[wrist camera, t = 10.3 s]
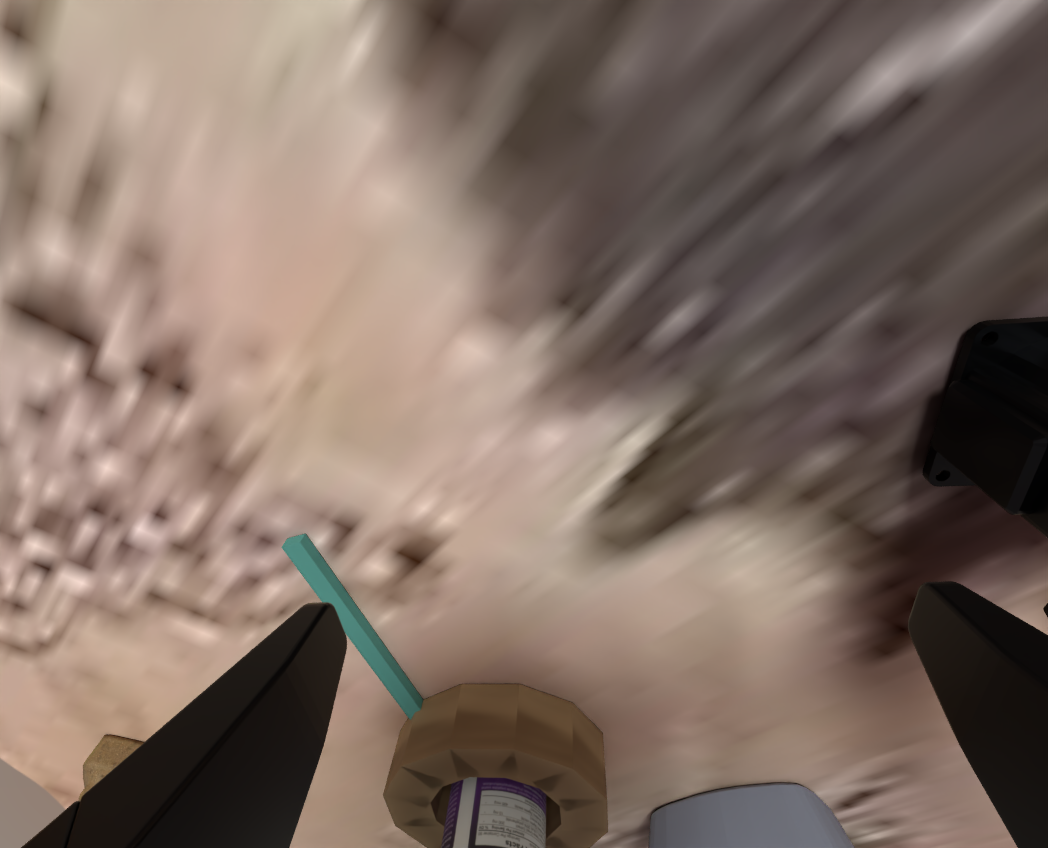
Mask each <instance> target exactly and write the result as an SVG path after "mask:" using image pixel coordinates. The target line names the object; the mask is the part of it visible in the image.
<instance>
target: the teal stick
mask: <svg viewBox="0 0 1048 848" xmlns="http://www.w3.org/2000/svg"><path fill="white" fill-rule="evenodd" d="M282 549H283V550H284V551H285V553H286V554H287V555H288V557H289V558H290V559H291V561H292V562H293V563H294V565H295V566H296V567H297V569H298V570H299V571H300V573H301V574H302V575H303V577H304V578H305V579H306V581H307V582H308V583H309V585H310V586H311V588H312V589H313V590H314V592H315V593H316V594H317V596H318V597H319V598H320V600H321V601H322V602H328V603H331V604H332V605H334V607H335V609H336V611H337V614H338V616H339V619H340V621H341V624H342V626H343V629H344V631H345V633H346V634H347V636H348V637H349V639H350V640H351V641H352V643H353V644H354V645H355V647H356V648H357V649H358V651H359V652H360V653H361V655H362V656H363V657H364V659H365V660H366V661H367V663H368V664H369V665H370V667H371V668H372V669H373V671H374V672H375V673H376V675H377V676H378V677H379V679H380V680H381V681H382V683H383V684H384V686H385V687H386V688H387V690H388V691H389V692H390V694H391V695H392V696H393V698H394V699H395V700H396V702H397V703H398V704H399V706H400V707H401V708H402V710H403V711H404V712H405V714H406V715H407V716H408V718H409V719H410V720H411V718H412V717H413V715H414V713H415V712H417V711H420V710H421V707H422V703H423V699H422V698H421V696H420V695H419V693H418V692H417V691H416V689H415V688H414V686H413V685H412V683H411V682H410V681H409V679H408V678H407V676H406V675H405V674H404V672H403V671H402V669H401V668H400V666H399V665H398V664H397V662H396V661H395V659H394V658H393V657H392V655H391V654H390V652H389V651H388V650H387V648H386V647H385V645H384V644H383V642H382V641H381V640H380V638H379V637H378V635H377V634H376V633H375V631H374V630H373V628H372V627H371V625H370V624H369V623H368V621H367V620H366V618H365V617H364V616H363V614H362V613H361V611H360V610H359V609H358V607H357V606H356V604H355V603H354V601H353V600H352V599H351V597H350V596H349V594H348V593H347V592H346V590H345V589H344V587H343V586H342V584H341V583H340V582H339V580H338V579H337V577H336V576H335V575H334V573H333V572H332V570H331V569H330V567H329V566H328V565H327V563H326V562H325V560H324V559H323V558H322V556H321V555H320V553H319V552H318V551H317V549H316V548H315V546H314V545H313V543H312V542H311V541H310V539H309V538H308V536H307V535H306V534H302V535H298V536H295V537H291V538H287V540H286V541H285V543H284V544H283V546H282Z"/></svg>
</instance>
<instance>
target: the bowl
mask: <svg viewBox="0 0 1048 848" xmlns="http://www.w3.org/2000/svg"><path fill="white" fill-rule="evenodd" d="M649 848H854V846H853V845H852V843H851V841H850V840H849V838H848V836H847V835H846V833H845V831H844V830H843V828H842V826H841V825H840V823H839V821H838V820H837V818H836V817H835V815H834V814H833V812H832V811H831V809H830V808H829V807H828V806H827V805H826V804H825V803H824V802H823V801H822V800H821V799H820V798H819V797H818V796H817V795H816V794H815V793H813V792H812V791H810V790H809V789H807V788H805V787H803V786H800V785H798V784H794V783H770V784H759V785H748V786H738V787H732V788H725V789H719V790H714V791H710V792H706V793H702V794H698V795H695V796H692V797H689V798H686V799H683V800H680V801H677V802H674V803H670V804H668V805H666V806H664V807H662V808H660V809H658V810H657V811H655V812H654V813H653V814H652V816H651V821H650V835H649Z"/></svg>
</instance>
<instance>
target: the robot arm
mask: <svg viewBox="0 0 1048 848" xmlns="http://www.w3.org/2000/svg"><path fill="white" fill-rule="evenodd" d="M989 332H990V335H989V336H988V338H987V339H986V340H984V341H982V342H981V339H982V338H983V336H984V335H985V334H987V333H989ZM940 471H943V472H942V473H940V474H939V475H937V473H939V472H940ZM923 476H924V478H925V479H926V480H927V481H928V482H929V483H930V484H932V485H934V486H967V485H976V486H978V487H979V488H980V489H981V490H982V491H983V492H985V493H986V494H987V495H988V496H989V497H990V498H992V499H993V500H994V501H995V502H996V503H997V504H999V505H1000V506H1001V507H1002V508H1003V509H1004V510H1006V511H1007V512H1008V513H1010V514H1012V515H1021V516H1022V517H1023V518H1024V519H1025V520H1027V521H1028V522H1029V523H1030V524H1031V525H1033V526H1034V527H1035V528H1036V529H1037V530H1038V531H1040V532H1041V533H1042V534H1043V535H1044V536H1046V537H1047V538H1048V317H1035V318H1020V319H1004V320H989V321H983V322H979V323H977V324H976V325H974V326H973V327H972V328H971V329H970V330H969V331H968V332H967V334H966V336H965V340H964V343H963V346H962V349H961V352H960V355H959V358H958V362H957V365H956V368H955V371H954V374H953V377H952V380H951V384H950V386H949V387H948V390H947V393H946V396H945V399H944V402H943V405H942V409H941V412H940V415H939V418H938V421H937V424H936V428H935V431H934V434H933V437H932V440H931V446H930V450H929V453H928V456H927V459H926V462H925V465H924V468H923ZM1043 609H1044V612H1045V613H1046V615H1047V617H1048V603H1047V605H1046V606H1045V607H1044V608H1043ZM908 629H909V634H910V637H911V640H912V642H913V644H914V646H915V648H916V651H917V653H918V655H919V657H920V660H921V662H922V664H923V666H924V668H925V671H926V673H927V675H928V677H929V680H930V682H931V684H932V686H933V688H934V691H935V693H936V695H937V697H938V699H939V702H940V704H941V706H942V708H943V711H944V713H945V715H946V717H947V719H948V722H949V724H950V726H951V728H952V730H953V732H954V734H955V736H956V739H957V741H958V743H959V745H960V747H961V748H962V750H963V752H964V754H965V756H966V758H967V759H968V761H969V763H970V765H971V767H972V768H973V770H974V772H975V774H976V775H977V777H978V779H979V781H980V782H981V784H982V786H983V788H984V789H985V791H986V793H987V795H988V796H989V798H990V800H991V802H992V803H993V805H994V807H995V809H996V810H997V812H998V814H999V816H1000V817H1001V819H1002V821H1003V823H1004V824H1005V826H1006V828H1007V830H1008V831H1009V833H1010V835H1011V837H1012V838H1013V840H1014V842H1015V843H1016V845H1017V847H1018V848H1048V635H1047V634H1045V633H1043V632H1041V631H1040V630H1038V629H1036V628H1035V627H1033V626H1031V625H1029V624H1028V623H1026V622H1024V621H1023V620H1021V619H1019V618H1018V617H1016V616H1014V615H1012V614H1011V613H1009V612H1007V611H1006V610H1004V609H1002V608H1000V607H999V606H997V605H995V604H994V603H992V602H990V601H988V600H987V599H985V598H983V597H982V596H980V595H978V594H977V593H975V592H973V591H971V590H970V589H968V588H966V587H965V586H963V585H961V584H959V583H956V582H951V581H947V582H926V583H924V584H922V585H921V586H920V587H919V589H918V593H917V596H916V599H915V602H914V605H913V608H912V611H911V614H910V617H909V621H908ZM346 649H347V638H346V634H345V631H344V629H343V626H342V624H341V621H340V619H339V616H338V614H337V611H336V609H335V607H334V605H332V604H331V603H328V602H322V603H308V604H306V605H304V606H303V607H301V608H300V609H299V610H298V611H297V612H295V613H294V614H293V615H292V616H291V617H290V618H288V619H287V620H286V621H285V622H284V623H283V624H281V625H280V626H279V627H278V628H277V629H276V630H274V631H273V632H272V633H271V634H270V635H269V636H267V637H266V638H265V639H264V640H263V641H262V642H260V643H259V644H258V645H257V646H256V647H255V648H253V649H252V650H251V651H250V652H249V653H248V654H247V655H245V656H244V657H243V658H242V659H241V660H240V661H238V662H237V663H236V664H235V665H234V666H233V667H231V668H230V669H229V670H228V671H227V672H226V673H224V674H223V675H222V676H221V677H220V678H219V679H217V680H216V681H215V682H214V683H213V684H212V685H210V686H209V687H208V688H207V689H206V690H205V691H203V692H202V693H201V694H200V695H199V696H198V697H197V698H195V699H194V700H193V701H192V702H191V703H190V704H188V705H187V706H186V707H185V708H184V709H183V710H181V711H180V712H179V713H178V714H177V715H176V716H174V717H173V718H172V719H171V720H170V721H169V722H167V723H166V724H165V725H164V726H163V727H162V728H160V729H159V730H158V731H157V732H156V733H155V734H153V735H152V736H151V737H150V738H149V739H148V740H147V741H145V742H144V743H143V744H142V745H141V746H140V747H138V748H137V749H136V750H135V751H134V752H133V753H131V754H130V755H129V756H128V757H127V758H126V759H124V760H123V761H122V762H121V763H120V764H119V765H117V766H116V767H115V768H114V769H113V770H112V771H110V772H109V773H108V774H107V775H106V776H105V777H103V778H102V779H101V780H100V781H99V782H98V783H96V784H95V785H94V786H93V787H92V788H91V789H89V790H88V791H87V792H86V793H85V794H84V795H83V796H82V797H81V800H80V801H76V802H74V803H73V804H72V805H71V806H69V807H68V808H67V809H66V810H65V811H64V812H63V813H61V814H60V815H59V816H58V817H57V818H56V819H54V820H53V821H52V822H51V823H50V824H49V825H47V826H46V827H45V828H44V829H43V830H41V831H40V832H39V833H38V834H37V835H36V836H34V837H33V838H32V839H31V840H30V841H28V842H27V843H26V844H25V845H24V846H22V847H21V848H289V847H290V844H291V841H292V838H293V835H294V832H295V829H296V826H297V823H298V820H299V817H300V814H301V812H302V809H303V806H304V803H305V800H306V797H307V794H308V791H309V788H310V785H311V782H312V779H313V776H314V773H315V770H316V768H317V765H318V762H319V758H320V755H321V752H322V749H323V746H324V742H325V738H326V734H327V731H328V726H329V722H330V718H331V714H332V709H333V705H334V701H335V697H336V692H337V688H338V684H339V680H340V675H341V671H342V667H343V663H344V658H345V654H346Z"/></svg>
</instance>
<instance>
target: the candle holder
mask: <svg viewBox="0 0 1048 848" xmlns="http://www.w3.org/2000/svg"><path fill="white" fill-rule="evenodd" d="M143 743H144V742H141V741H137V740H133V739H128V738H123V737H118V736H114V735H104V737H103V738H102V739H101V741H100V742H99V743H98V745H97V746H96V748H95V749H94V750H93V752H92V753H91V754H90V756H89V757H88V758H87V760H86V761H85V762H84V765H83V780H84V787H85V789H84V790H83V791H82V793H81V794H80V797H79V801H80V800H81V797H82V796H83V795H84V794H85V793H86V792H87V791H88V790H89V789H91V788H92V787H93V786H94V785H95V784H96V783H98V782H99V781H100V780H101V779H102V778H103V777H105V776H106V775H107V774H108V773H109V772H110V771H112V770H113V769H114V768H115V767H116V766H117V765H119V764H120V763H121V762H122V761H123V760H124V759H126V758H127V757H128V756H129V755H130V754H131V753H133V752H134V751H135V750H136V749H137V748H138V747H140V746H141V745H142V744H143Z"/></svg>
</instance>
